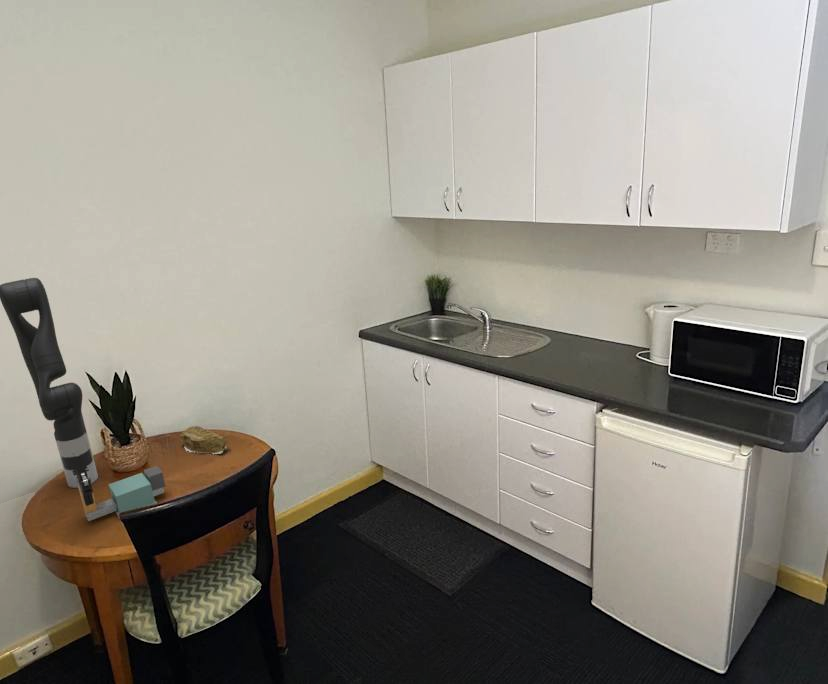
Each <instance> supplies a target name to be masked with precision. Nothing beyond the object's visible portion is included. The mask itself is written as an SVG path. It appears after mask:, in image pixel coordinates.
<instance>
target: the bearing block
mask: <svg viewBox="0 0 828 684" xmlns="http://www.w3.org/2000/svg"><path fill="white" fill-rule="evenodd" d="M143 473H144V472H140V473H137V474H135V475H132V476H128V477H126V478H123V479H121V480H117V481H114V482H111V483H108V489H109V493H110V496H111V498H114V499H115V500H116V503H117V507H118V510H117V511H114V512H115V514H116V516H118V515H119V513H121V512H124V511H128V510H132V509H136V508H139V507H145V506H149V505H152V504H158V501H157V500H156V499H155V496H153V492H152V487H151V484H150V482H149V481H148V480H147V479H146V477H145V474H143Z"/></svg>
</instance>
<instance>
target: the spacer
mask: <svg viewBox="0 0 828 684" xmlns="http://www.w3.org/2000/svg"><path fill="white" fill-rule="evenodd" d="M143 473H144V474H143V475H144V476H145V477H146V479H147V480H148V481H149V482H150V484H151V487H152V491H154V490H157V489H159V488H162V487H163V488H164V487H166V483H165V479H164V478H165V477H164V474H163V471H162V470H161V468H159V467H158V465H155V466H151V467H149V468H146V469H143Z"/></svg>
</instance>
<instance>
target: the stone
mask: <svg viewBox="0 0 828 684" xmlns="http://www.w3.org/2000/svg"><path fill="white" fill-rule="evenodd" d="M179 440H180V441H181V442H182V444H183V445H184V447H183V448H184V449H185V451H186V452H187V451H189V452H188V453H194V454H199V453H212V454H213V455H219V454H222V453H223V452H224V451H226V450H227V449H228V448H227V446H226V445H227V443H228V442H227V436H223V435H220V434H219V433H215V431H213V430H209V429H207V428H203V427H202V426H198V425H192V426H189V427H188V428H186V429H185V430H184V431H181V433H180V434H179ZM195 452H197V453H195ZM198 452H199V453H198Z"/></svg>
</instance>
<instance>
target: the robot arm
mask: <svg viewBox="0 0 828 684" xmlns="http://www.w3.org/2000/svg"><path fill="white" fill-rule="evenodd" d="M0 302H1V304H2V307H3V309H4V312H5V313H6V316H7V318H8V320H9V323H10V325H11V327H12V329H13V331H14V333H15V336H16V339H17V342H18V346H19V349H20V352H21V354H22V358H23V360H24V363H25V366H26V368H27V370H28V372H29V375H30V377H31V379H32V382H33V385H34V388H35V391H36V395H37V399H38V403H39V407H40V409H41V413H42V414H43V417H44V419H46V420H47V421H51V422H52V421H53V429H54V432H53V434H54V435H53V436H54V438H55V442H56V447H57V450H58V453H59V457H60V460H61V464H62V468H63V472H64V476H65V478H66V479H65V480H66V482H67V486H68V488H71V489H72V488H75V489H76V488H77V489H79V488H80V489H81V491H82V494H83V497H84V501H85V504H86V506H88V505H91V504H93V503H94V500H93V496H92V493H93V494H94V489H93V486H92V484H93V483H94V482H95V481H97V480H98V478H99V475H98V470H97V466H96V463H95V460H94V459H95V458H94V455H93V452H92V447H91V443H90V440H89V436H88V432H87V429H86V425H85V421H84V416H83V412H82V407H83V405H82V404H83V390H82V388H81V386H79V385H78V383H76V382H67V383H63V384H59V385H56V386H55V385H54V386H51V384H52V382H54V381H55V380H58V379H60V378H63V376H65V375H66V374H67V366H66V364H65V362H64V359H63V355H62V352H61V349H60V347H59V342H58V339H57V334H56V329H55V323H54V319H53V314H52V311H51V310H52V309H51V306H50V302H49V298H48V294H47V291H46V288H45V286H44V284H43V282H42V281H41V279H39V278H38V277H30V278H25V279H20V280H15V281H13V280H12V281H10V282H5V283H1V284H0ZM34 311H38V315H39V321H38V327H35V326H34V325H33V324H31V323H30V322H29V321H28V320H26V318H25V317H24V315H22V314H24V313H25V314H26V313H31V312H34ZM79 482H80V483H79ZM78 487H79V488H78Z"/></svg>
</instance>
